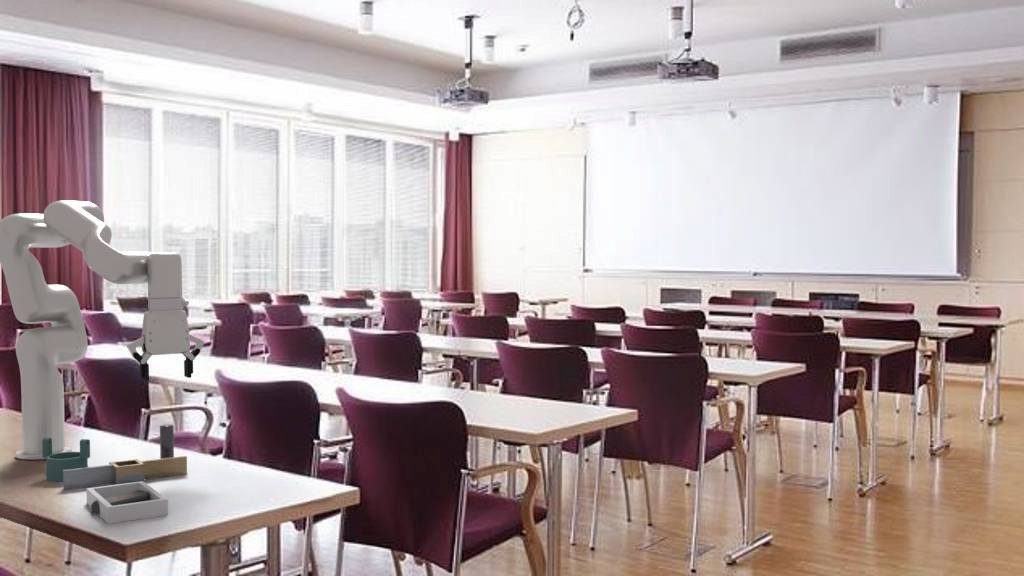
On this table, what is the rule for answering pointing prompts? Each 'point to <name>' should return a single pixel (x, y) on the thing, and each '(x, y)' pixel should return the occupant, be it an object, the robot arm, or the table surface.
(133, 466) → the hinge
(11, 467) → the table surface
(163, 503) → the parts tray frame
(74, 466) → the teal round tub
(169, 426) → the hinge pin
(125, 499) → the usb flash stick
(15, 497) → the table surface
